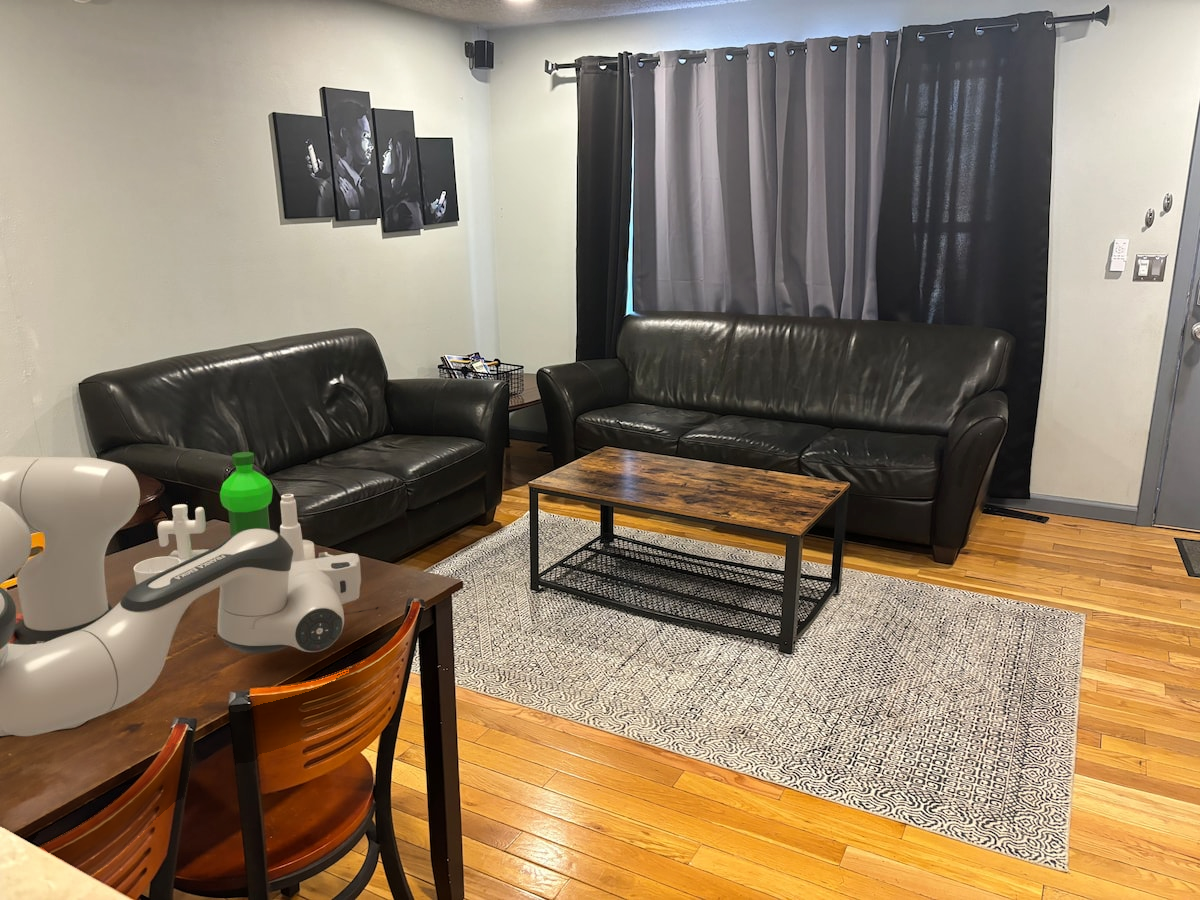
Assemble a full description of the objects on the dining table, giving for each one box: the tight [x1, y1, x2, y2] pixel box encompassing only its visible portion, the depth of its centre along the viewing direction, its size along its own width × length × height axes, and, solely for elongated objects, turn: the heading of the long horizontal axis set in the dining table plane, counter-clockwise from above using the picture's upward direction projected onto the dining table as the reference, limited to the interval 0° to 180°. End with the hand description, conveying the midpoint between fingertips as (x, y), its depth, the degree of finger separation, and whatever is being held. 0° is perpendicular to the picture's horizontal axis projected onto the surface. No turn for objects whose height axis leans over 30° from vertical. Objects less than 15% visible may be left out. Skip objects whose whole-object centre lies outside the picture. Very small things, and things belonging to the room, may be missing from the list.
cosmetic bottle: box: [279, 493, 305, 562], centre depth 163 cm, size 6×6×22 cm
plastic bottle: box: [219, 451, 274, 537], centre depth 181 cm, size 10×10×25 cm
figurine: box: [157, 503, 209, 563], centre depth 179 cm, size 7×9×15 cm
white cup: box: [132, 556, 181, 585], centre depth 161 cm, size 8×8×10 cm
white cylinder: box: [302, 539, 316, 560], centre depth 177 cm, size 7×7×7 cm
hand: (295, 560), depth 154 cm, fingers open, 8 cm apart
